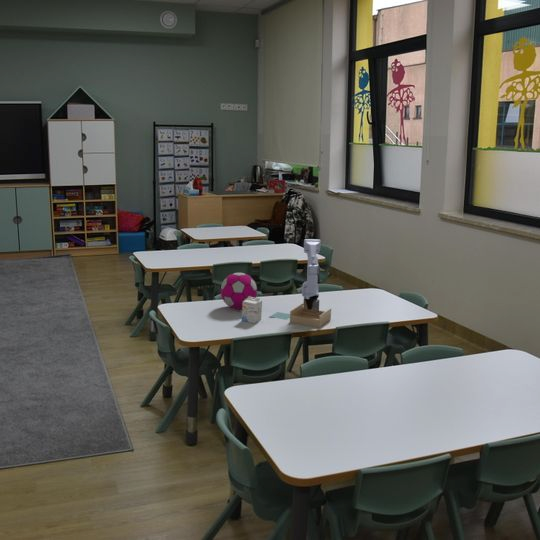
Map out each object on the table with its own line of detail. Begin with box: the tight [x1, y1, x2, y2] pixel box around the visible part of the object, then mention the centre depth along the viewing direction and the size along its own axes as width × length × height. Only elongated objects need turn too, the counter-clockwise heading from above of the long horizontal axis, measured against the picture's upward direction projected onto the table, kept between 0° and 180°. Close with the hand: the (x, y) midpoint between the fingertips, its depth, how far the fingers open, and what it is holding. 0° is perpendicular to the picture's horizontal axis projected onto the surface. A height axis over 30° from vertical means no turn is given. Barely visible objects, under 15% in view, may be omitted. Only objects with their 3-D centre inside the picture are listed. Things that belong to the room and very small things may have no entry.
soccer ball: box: [220, 272, 258, 310], centre depth 408 cm, size 22×22×22 cm
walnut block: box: [302, 298, 320, 313], centre depth 388 cm, size 4×8×7 cm, turn 65°
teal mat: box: [269, 311, 290, 321], centre depth 397 cm, size 11×11×1 cm
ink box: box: [241, 296, 263, 324], centre depth 386 cm, size 9×8×13 cm
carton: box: [289, 303, 332, 328], centre depth 389 cm, size 18×18×7 cm
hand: (311, 308), depth 388 cm, fingers closed on walnut block, 4 cm apart
